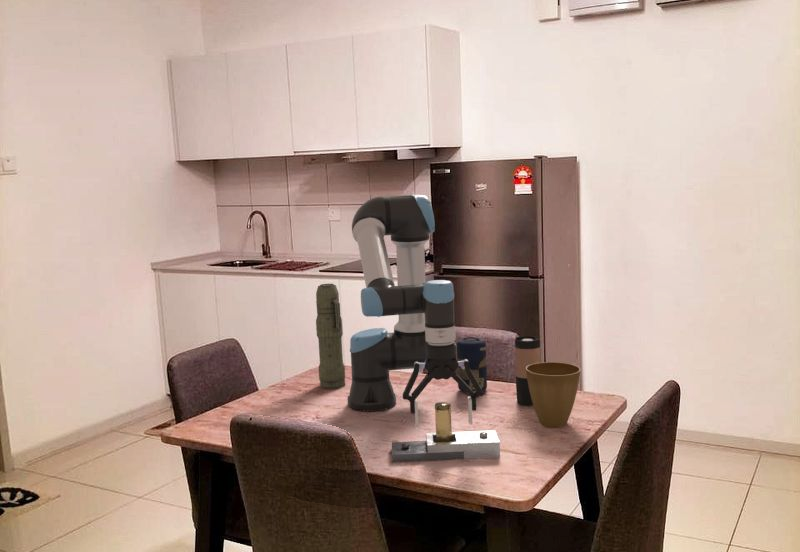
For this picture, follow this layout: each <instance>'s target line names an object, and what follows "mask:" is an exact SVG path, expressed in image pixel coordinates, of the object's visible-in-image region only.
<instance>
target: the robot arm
mask: <svg viewBox="0 0 800 552" xmlns="http://www.w3.org/2000/svg"><path fill="white" fill-rule="evenodd" d="M433 210H434V209H433V206H432V204H431V201H430V199H429V197H427V195H424V194H403V195H388V196H382V195H381V196H376V197H371V198H370V199H369V200H367V201H366V202H364V203H363V204H361V205H360V207H359V208H358V209H357V211H356V212H355V213H354V215H353V219H352V222H351V233H352V237H353V239H354V240H355V242H356V243H357V246H358V251H359V256H360V262H361V267H362V273H363V278H364V283H365V287H364V288H362V289H361V290H360V307H361V313H362V315H363V316H365V317H368V318H369V317H376V318H377V317H378V318H380V317H389V316H398V321H397V322H396V324H395V325H394V326H393V332H388V330H387V329H386V328H384V327H375V328H374V327H373V328H369V329H365V330H364V329H363V330H361V331H359V332H356V333H355V334H353V335H352V336H351V337H350V339H349V340H350V342H349V344H350V347H349V352H350V363H351V386H350V390H349V394H348V396H347V407H348V408H349V409H351V410H352V411H353V410H354V411H357V412H358V411H359V412H377V411H385V410H388V409H391V408H393V407H395V406H396V404H397V395H396V394H395V390H394V388H393V385H392V383H391V379H390V371H398V370H412V369H413V370H412V373H411V375H410V377H409V378H408V379H409V380H408V382H407V383H406V386H405V387H404V388H405V389H404V390H403V393H402V400H404V401H405V400H406V401H408V402H409V409H410V413H411V415H412V414H414V420H415V422H414V423H415V428H419V426H420V425H419V406H418V405H419V403H418V402H419V401H418V397H419V396H420V394H422V392H423V390H424V389H425V388H426V387H427V386H428V384H429V383H430V382H431V381H433V379H434V380H438V381H439V380H449V379H451V378H452V379H453V380H454V381H455V382H456V383H457V385H458V384H459V385H460V386H461V387H462V388H463V389H464V390H465V391H466V392H467V393H466V394H468V396H467V411H468V413H467V414H468V415H467V416H468V417H467V419H468V424H469V425H472V426H473V412H475V411H476V410H477V398H478V397H483V395H484V391H483V392H482V389H481V388H480V386H479V384H478V382H477V381H476V379H475V377H474V375H473V373H472V372H471V370H470V367H469V362H468V360H467V359H464V360H463V361H457V343H456V342H455V341H456V322H455V319H456V318H455V296H456V295H455V291H454V284H453V282H452V281H451V280H446V279H434V280H428V281H426V259H425V257H426V255H425V251H426V250H425V245H426V244H427V243H428V242H429V241H430V234H433V233H435V227H436V226H435V225H436V223H435V217H434V211H433ZM385 236H390V241H391V242H392V243H393V245H395V247H396V249H395V250H396V252H395V253H396V275H397V276H396V278H397V279H396V280H397V283H396V284H397V285H396V284H395V281H394V276H393V272H392V267H391V263H390V259H389V255H388V250H387V246H386V242H385ZM458 366H461V368H462V369H465V371H466V373H467V375H468V377H469V379H470V380H471V382H472V384H473V386H474V387H475V389H476V391H473V390H472V389H471V388H470V387H469V386H468V385H467V384H466V383H465V382H464V381H463V380H462V379H461V378H460V376H459V375H458V372H456V371H457V370H458ZM424 368H425V370H426V371H427V373H426V374H425V376H424V378H423V379H422V380H421V381H420V382H419V384H417V386H416V388H415V389H414V390H413V391H412V388H413V386H414V385H415V383H416V380H417V378H418V376H419V373H420V372H422V370H423V369H424ZM411 391H412V393H411Z"/></svg>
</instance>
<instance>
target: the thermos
mask: <svg viewBox="0 0 800 552" xmlns="http://www.w3.org/2000/svg"><path fill="white" fill-rule="evenodd" d="M339 295H340V293H339V290H338V288H337V285H336V284H334V283H322V284H321V283H320V284H319V285H318V286H317V289H316V293H315V296H316V297H315V298H316V302H315V303H316V315H317V316H316V319H315V325H316V326H315V329H316V337H317V338H318V352H319V355H318V356H319V364H318V365H319V366H318V379H319V388H321V389H324V390H337V389H341V388H343V387H345V386H346V366H345V363H344V358H343V339H342V337H343V333H344V331H343V319H342V316H341V304H340V296H339Z"/></svg>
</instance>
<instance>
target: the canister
mask: <svg viewBox="0 0 800 552" xmlns="http://www.w3.org/2000/svg"><path fill="white" fill-rule="evenodd" d="M464 359H467V360H468V362H469V367H470V370H471V372H472V373H473V375H474V377H475V379H476V381H477V382H478V384H479V386H480V388H481V389H482V392H483V393H484V391H486V390H487V388H488V365H487V364H488V363H487V341H486V340H485V339H483V338H480V337H473V336H467V337H463V338H461V339H460V338H459V339H458V340H457V341H456V360H457V361H463V360H464ZM457 374H458V375H459V376H460V378H461V379H462V380H463V381H464V382H465V383H466V384H467V385H468V386H469V387H470V388H471V389H472V390H473V391H476V389H475V387H474V386H473V384H472V382H471V380H470V379H469V377H468V375H467V373H466V371H465V369H462V368H461V366H458V368H457ZM457 388H458V390H459V391H460V392H462V393H466V394H467V392H466V391H465V390H464V389H463V388H462V387H461V386H460V385H459V384H458V383H457Z"/></svg>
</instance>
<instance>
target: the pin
mask: <svg viewBox="0 0 800 552" xmlns="http://www.w3.org/2000/svg"><path fill="white" fill-rule="evenodd" d="M451 405H452V404H451V403H450V402H449V401H440V402H439V401H438V402H436V403H434V415H435V418H434V419H435V433H436V443H441V442H452V432H453V431H452V406H451Z"/></svg>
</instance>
